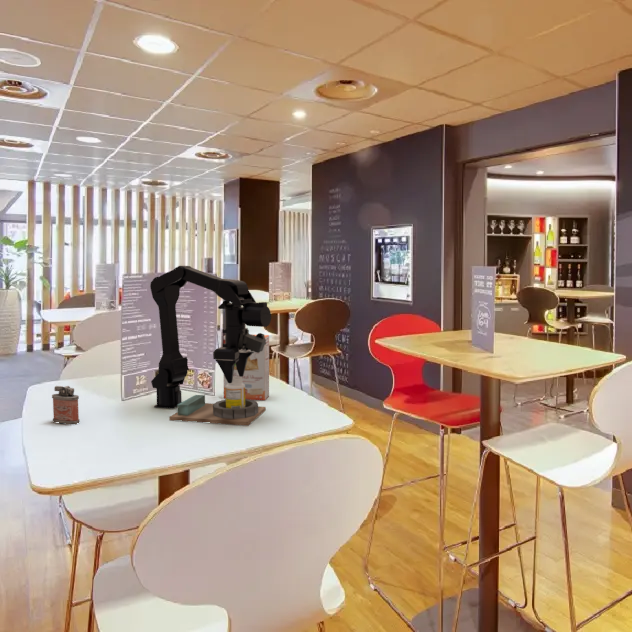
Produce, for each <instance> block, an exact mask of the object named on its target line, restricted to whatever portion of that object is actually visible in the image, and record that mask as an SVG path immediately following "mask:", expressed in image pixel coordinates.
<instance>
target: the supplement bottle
mask: <svg viewBox="0 0 632 632" xmlns="http://www.w3.org/2000/svg"><path fill="white" fill-rule="evenodd" d="M225 400H226V408H232V409H236V408H245V384H243V383H242V377H240V376H233V380H232V383H229V384H227V385H226V398H225Z"/></svg>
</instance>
